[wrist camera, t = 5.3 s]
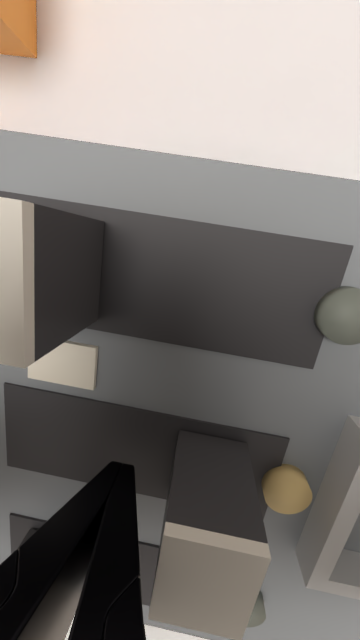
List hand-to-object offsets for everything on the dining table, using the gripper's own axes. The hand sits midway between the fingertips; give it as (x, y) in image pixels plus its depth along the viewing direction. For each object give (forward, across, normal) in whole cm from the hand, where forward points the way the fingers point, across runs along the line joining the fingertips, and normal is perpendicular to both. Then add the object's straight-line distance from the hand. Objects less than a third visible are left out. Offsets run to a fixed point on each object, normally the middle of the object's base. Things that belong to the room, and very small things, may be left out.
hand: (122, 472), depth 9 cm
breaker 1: (+1, +3, -6) cm, 7 cm away
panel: (+3, -3, 0) cm, 4 cm away
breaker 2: (+1, -3, 0) cm, 3 cm away
